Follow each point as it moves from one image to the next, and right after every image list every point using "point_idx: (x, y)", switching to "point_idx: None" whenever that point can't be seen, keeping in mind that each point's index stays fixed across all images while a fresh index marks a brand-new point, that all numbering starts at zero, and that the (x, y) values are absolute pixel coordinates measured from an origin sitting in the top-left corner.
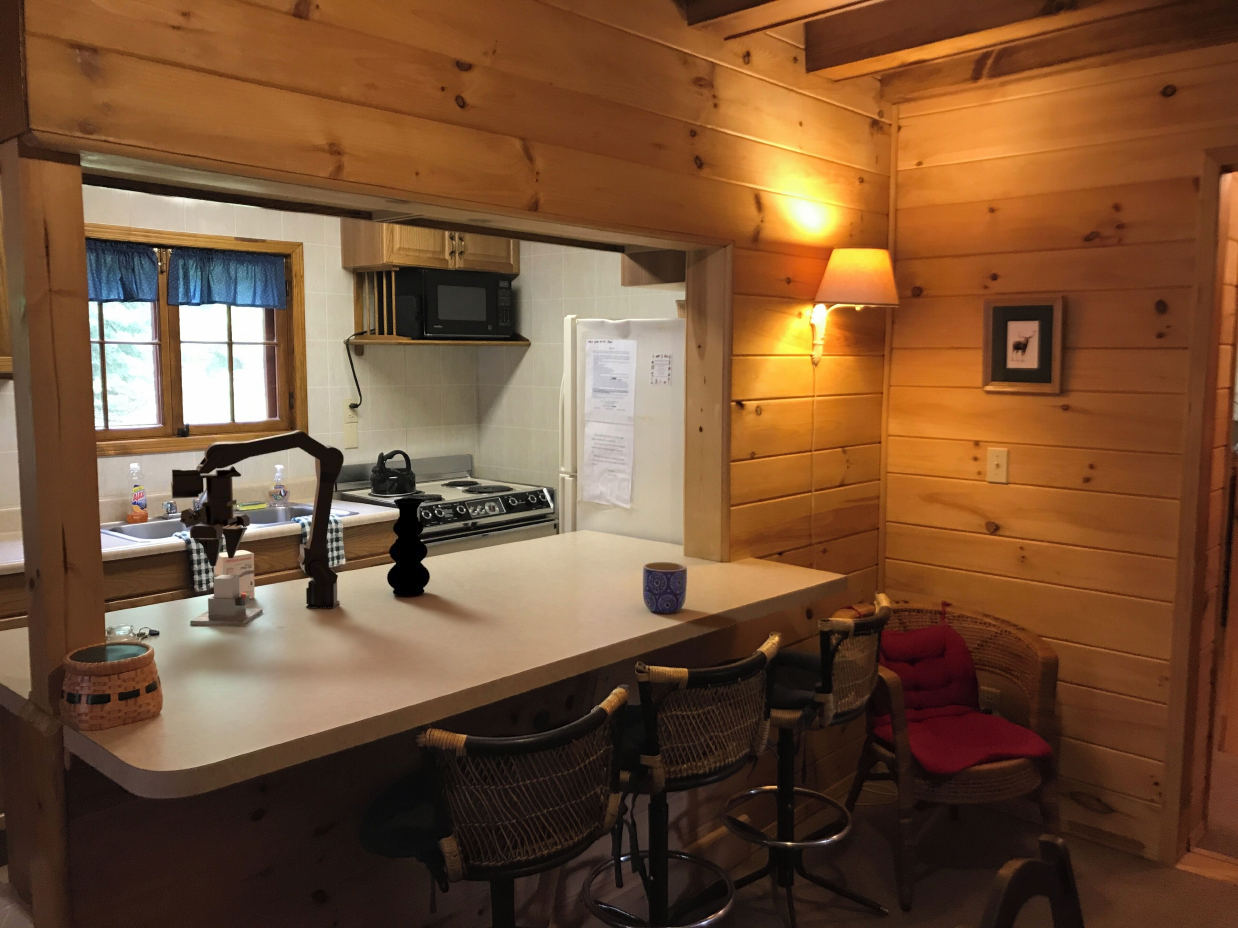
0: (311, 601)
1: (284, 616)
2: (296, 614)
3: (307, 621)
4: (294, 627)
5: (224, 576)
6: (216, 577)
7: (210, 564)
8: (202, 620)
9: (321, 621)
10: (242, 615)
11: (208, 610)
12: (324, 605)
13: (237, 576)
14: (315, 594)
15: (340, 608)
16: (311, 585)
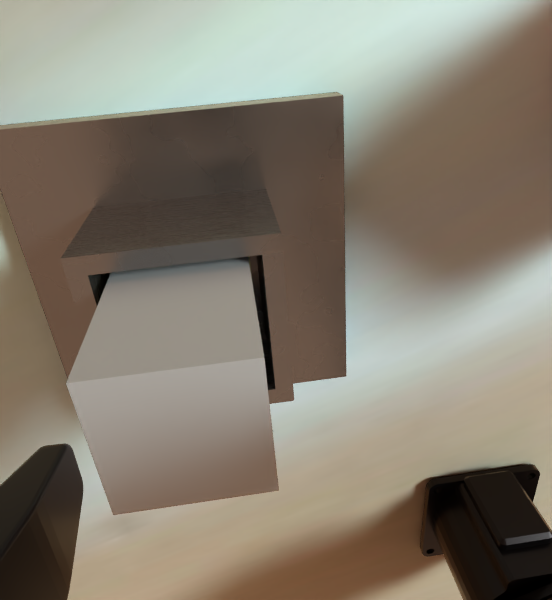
0: (460, 506)
1: (292, 463)
2: (330, 485)
3: (232, 554)
4: (137, 555)
5: (186, 423)
6: (118, 384)
7: (26, 467)
8: (21, 206)
9: (242, 585)
10: None
11: (82, 225)
12: (435, 536)
13: (243, 489)
14: (457, 556)
15: (432, 561)
16: (496, 576)
